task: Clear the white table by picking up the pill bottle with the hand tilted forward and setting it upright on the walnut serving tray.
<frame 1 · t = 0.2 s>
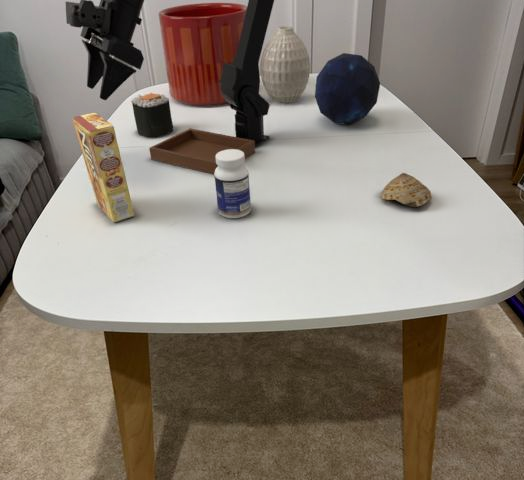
hand: (95, 93, 93), 15 cm above the table, tool tilted 35°, fingers open, 9 cm apart
candy box: (115, 212, 90), on the table
seashell: (405, 201, 89), on the table
vase: (285, 101, 136), on the table
tray: (203, 156, 108), on the table
pill bottle: (234, 212, 88), on the table
decorative orb: (344, 122, 121), on the table
sushi: (155, 132, 121), on the table
planter: (212, 96, 142), on the table
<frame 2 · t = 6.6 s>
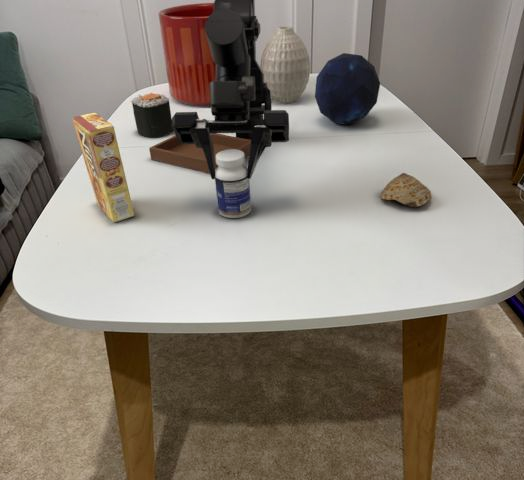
hand: (230, 178, 83), 7 cm above the table, tool tilted 45°, fingers closed on pill bottle, 6 cm apart
pill bottle: (234, 212, 88), on the table, touching gripper
everything else where it was.
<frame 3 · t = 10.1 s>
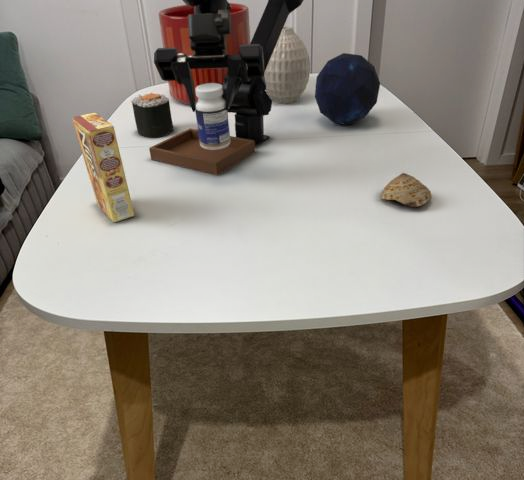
hand: (210, 110, 89), 13 cm above the table, tool tilted 45°, fingers closed on pill bottle, 6 cm apart
pill bottle: (215, 146, 94), point 6 cm above the table, touching gripper
everything else where it was.
when the fingers open (7 cm above the table, at t = 13.9 s): pill bottle stays where it is, resting on tray.
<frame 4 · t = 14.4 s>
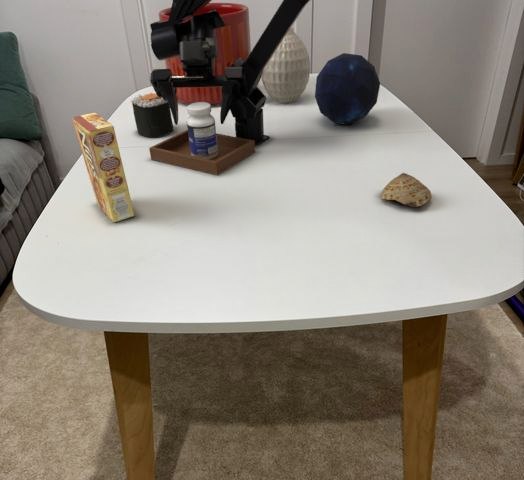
hand: (198, 123, 101), 8 cm above the table, tool tilted 45°, fingers open, 9 cm apart
pill bottle: (204, 156, 107), resting on tray
everything else where it was.
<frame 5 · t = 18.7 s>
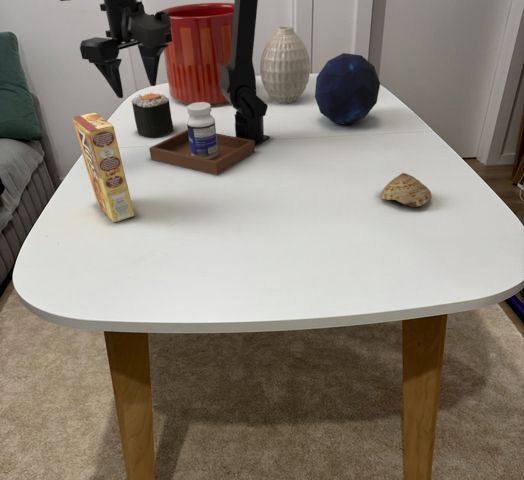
hand: (137, 91, 100), 13 cm above the table, tool pointing down, fingers open, 9 cm apart
nothing on the table moved.
at the end: pill bottle inside the target area in the tray (1.4 cm from its centre), point 0.3 cm above the tray's base; pill bottle tilted 0°; the gripper is holding nothing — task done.
